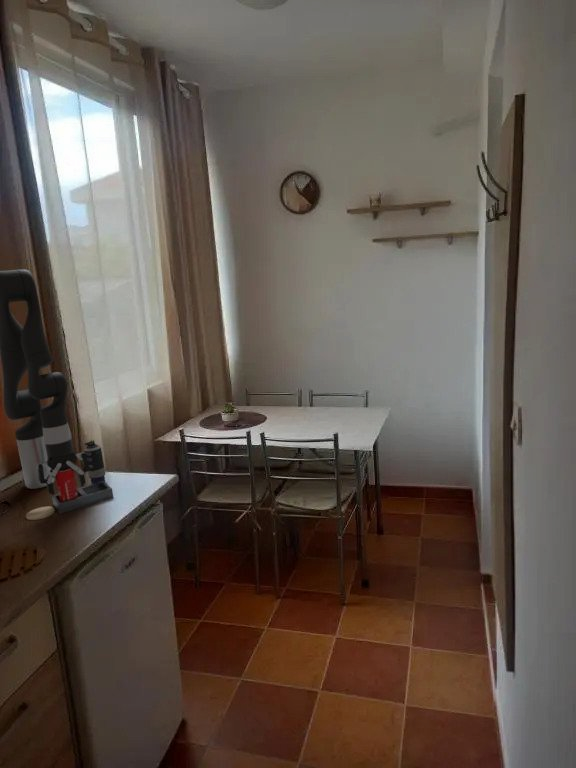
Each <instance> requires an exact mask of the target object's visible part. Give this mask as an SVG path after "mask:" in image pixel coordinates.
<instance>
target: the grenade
mask: <svg viewBox="0 0 576 768" xmlns="http://www.w3.org/2000/svg"><path fill="white" fill-rule="evenodd" d="M82 442H83V440H80V443H79V444H80V446H82ZM84 446H85V447H84V449H83V452H84V453H85V454H86V457H87V461H88V465H89V469H90V470H89V471H87V475H88V478H89V479H90V485H91V484H95V483H98V482H102V481H104V482H105V483H106V479H105V478H106V477H105V476H106V469H105V464H104V457H103V452H102V446H101V445H99V444H97V443H95V439H94V440H93V439H92V440H90V441H87V442H86V441H84Z"/></svg>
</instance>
